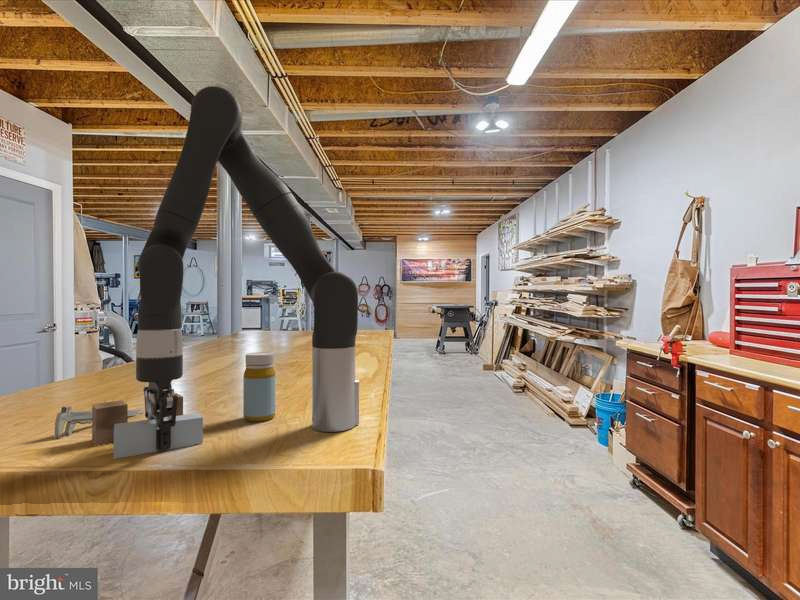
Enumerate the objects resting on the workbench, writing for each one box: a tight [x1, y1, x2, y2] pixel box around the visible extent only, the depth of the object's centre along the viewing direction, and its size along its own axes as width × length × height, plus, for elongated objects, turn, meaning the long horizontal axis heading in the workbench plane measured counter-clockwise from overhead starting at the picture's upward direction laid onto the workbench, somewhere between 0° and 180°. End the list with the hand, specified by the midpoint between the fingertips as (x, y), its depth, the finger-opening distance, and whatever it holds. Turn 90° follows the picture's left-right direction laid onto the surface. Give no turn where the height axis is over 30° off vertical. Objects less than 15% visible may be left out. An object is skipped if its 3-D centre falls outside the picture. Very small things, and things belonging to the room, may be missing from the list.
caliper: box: [54, 406, 145, 439], centre depth 92 cm, size 20×1×6 cm, turn 166°
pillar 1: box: [91, 399, 129, 447], centre depth 82 cm, size 5×5×7 cm
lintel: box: [113, 412, 204, 459], centre depth 77 cm, size 14×4×5 cm, turn 123°
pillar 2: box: [166, 392, 184, 417], centre depth 89 cm, size 5×5×7 cm
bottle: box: [242, 351, 276, 423], centre depth 97 cm, size 7×7×15 cm
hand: (159, 445), depth 77 cm, fingers closed on lintel, 4 cm apart
